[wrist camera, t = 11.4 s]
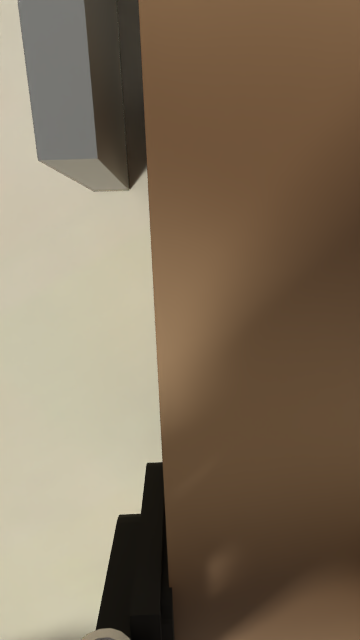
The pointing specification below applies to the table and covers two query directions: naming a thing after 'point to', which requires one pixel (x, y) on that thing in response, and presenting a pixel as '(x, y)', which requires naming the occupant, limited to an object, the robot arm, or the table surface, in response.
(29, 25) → the end cap
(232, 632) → the slat
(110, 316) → the table surface
